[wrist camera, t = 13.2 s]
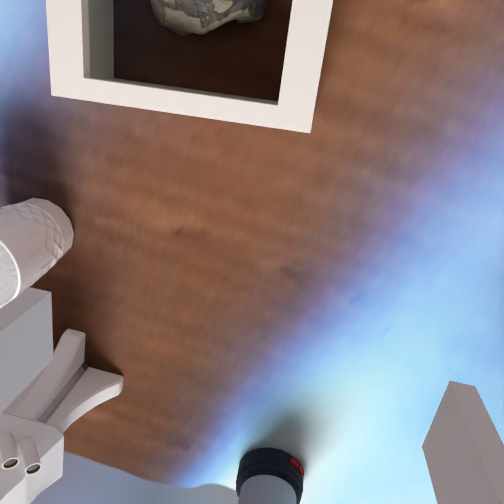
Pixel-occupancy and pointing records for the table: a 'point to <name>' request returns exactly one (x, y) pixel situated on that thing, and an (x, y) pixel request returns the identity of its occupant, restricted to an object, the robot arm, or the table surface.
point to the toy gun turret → (48, 419)
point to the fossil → (205, 14)
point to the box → (175, 98)
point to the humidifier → (269, 478)
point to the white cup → (30, 244)
